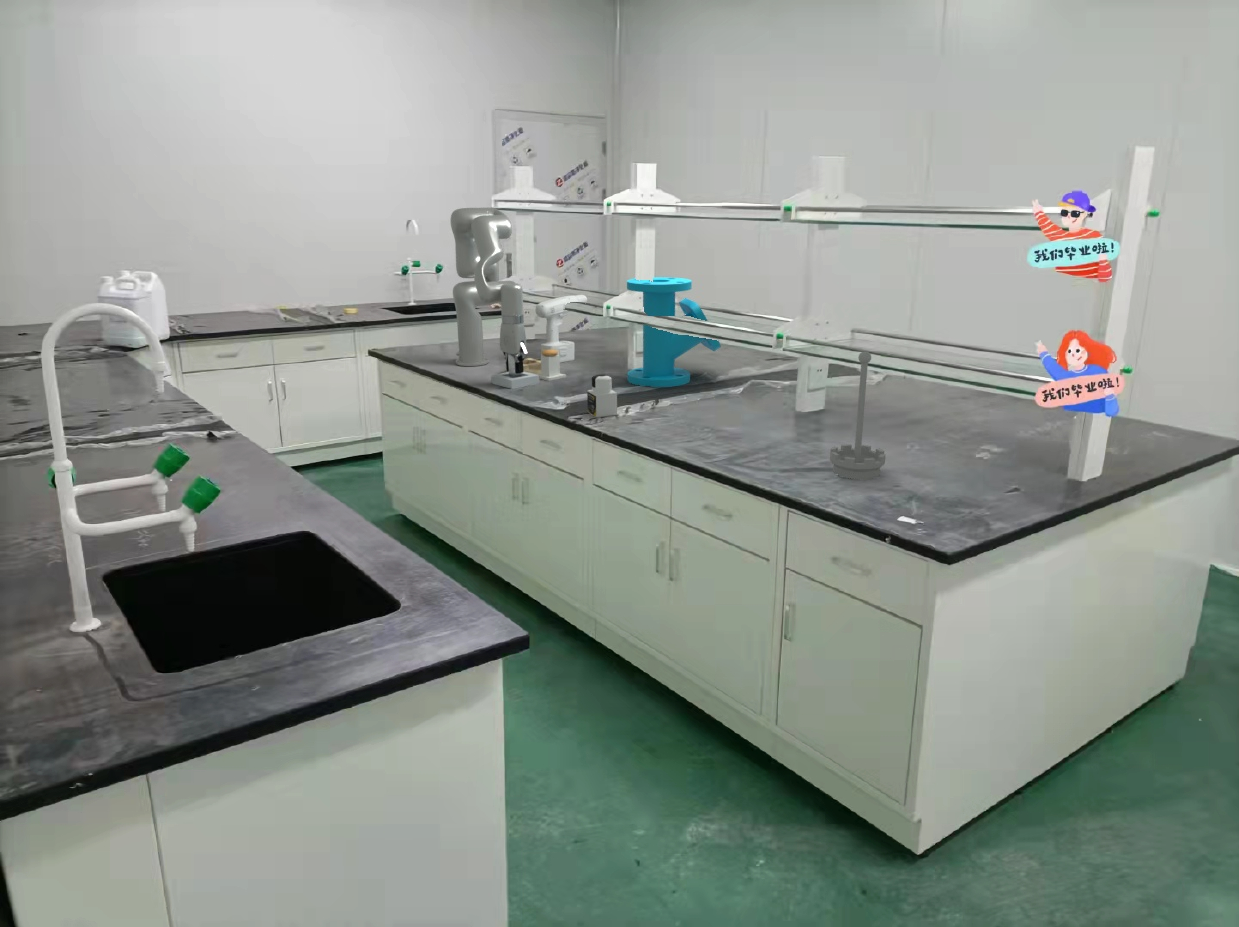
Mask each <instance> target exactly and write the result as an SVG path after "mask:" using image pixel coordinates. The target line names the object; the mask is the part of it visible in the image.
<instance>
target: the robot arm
mask: <svg viewBox="0 0 1239 927" xmlns="http://www.w3.org/2000/svg"><path fill="white" fill-rule="evenodd" d="M510 220H511V219H509V217H508V216H507V215H506V214H505V212H504V213H503V211H500V209H497V208H495V207H465V208H463V207H462V208H461V207H460V208H457V209H455V210H453V211H452V212H451V214H450V228H451V231H452V234H453V238H454V242H455V243H454V244H455V245H454V246H455V266H456V267H455V268H456V273H457V276H458V277H459V278H462V279H473V280H468V281H460V282H458V283H456V284H455V285H454V286H453V288H452V297H453V302H454V306H455V312H456V324H457V326H456V327H457V339H458V351H457V352H455V353H456V354H455V356H458V359H456V360H455V365H457V366H460V367H461V366H462V367H475V366H476V367H478V366H484V365H487V364H488V363H489V359H488V358H487V357H486V358H485V356H484V355H485V353H484V334H483V333H484V331H483V318H482V315H481V314H480V313H479V311H478V309H477V308H476V307H480V306H481V307H484V306H491V305H495V304H500V308H501V309H500V310H501V324H500V329H499V330H500V331H499V349H500V351H502V353H503V355H504V359H505V370H506V369H507V371H509V366H508V353H511V354H515V359H516V362H515V373H516V374H518V373H523V361H524V359H526V357H527V356H528V355H529V354H528V351H527V335H526V328H525V322H524V321H525V320H524V296H523V292H524V291H523V286H522V285H521V284H520V283H516V282H515V281H514V280H499V262H500V261H501V260H502V259H503V257H504V250H503V249H504V248H503V247H502V243H501V240H507V239H510V237H511V236H512V234H513V226H512V223H511V221H510ZM519 352H520V353H519ZM518 355H520V356H519V357H518Z"/></svg>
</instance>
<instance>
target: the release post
mask: <svg viewBox="0 0 1239 927" xmlns="http://www.w3.org/2000/svg"><path fill="white" fill-rule="evenodd" d="M540 360H541V374H537V375H539V380H544V381H548V382H549V381H555V380H559V379H561V380H562V379H566V378H567V374H565V373H561V372H560V371H561V368H560V367H561V365H560V364H561V363H560V359H559V356H558V355H556V356H553V357H546V356H544V355H542V356H541V355H540Z"/></svg>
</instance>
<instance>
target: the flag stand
mask: <svg viewBox="0 0 1239 927" xmlns="http://www.w3.org/2000/svg"><path fill="white" fill-rule="evenodd" d="M871 360H872V354H871V353H870V352H869V351H866V350H865V351H861V352H860V353H859V354H858V361H859V362H860V372H859V375H860V376H859V388H858V399H857V400H858V401H857V412H856V413H857V414H856V415H857V416H856V425H855V426H856V427H855V428H856V429H855V439H854V448H852V444H851V443H849V444H847V443H846V444H845V443H844V444H841V445H840V449H839V448H838V446H833V447H831V449H830V452H829V453H830V455H829V461H830V462H831V463H832V464H833V468H832V469H833V470H832V471H834V472H833V473H834V474H835V475H836V474H838V475H840V476H843V477H846V478H845V479H848V478H849V480H855V479H859V481H860V479H861V481H865V479H867V480H872V478H873V479H876V478H878V477H879V476H880V473H881V472H880V471H881V468H882V467H883V466H884V465H885V464H886V454H885V450H883V449H881V448H875V451H873V450H872V445H866V444H862V443H863V442H862V441H863V440H862V439H863V429H864V418H865V417H864V415H865V406H866V405H865V403H866V393H867V392H866V391H867V378H868V377H867V376H868V365H869V363H870V362H871ZM838 475H837V476H838ZM840 476H839V477H840ZM877 476H878V477H877ZM843 477H842V478H843ZM875 477H876V478H875ZM850 478H851V479H850ZM862 479H863V480H862Z"/></svg>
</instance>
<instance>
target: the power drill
mask: <svg viewBox="0 0 1239 927" xmlns="http://www.w3.org/2000/svg"><path fill="white" fill-rule="evenodd" d="M570 302H586V303H587V302H588V297H587V296H586V295H584V294H576V295H566V296H559V297H556V298H550V299H547V300H544V301H542V302H539V303H537V305H536V306H535V314H536V315H537V317H539V318H541V319H546V326H545V329H546V332H545V333H546V334H545V335H546V341H545V342H543V343H540V353H541V354H540V357H541V356H542V350H547V349H554V350H558V354H557V355H558V356H559V359H560V364H561V363H567V362H572V361H575V345H576V344H575V342H574V341H571V340H570V341H569V340H559V338H560V336H559V335H560V334H559V331H560V330H559V327H560V326H561V325H563V319H564V317H567V315H568V313H569V312H570V311H567V310H563V309H565V305H566V304H567V303H570Z"/></svg>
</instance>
